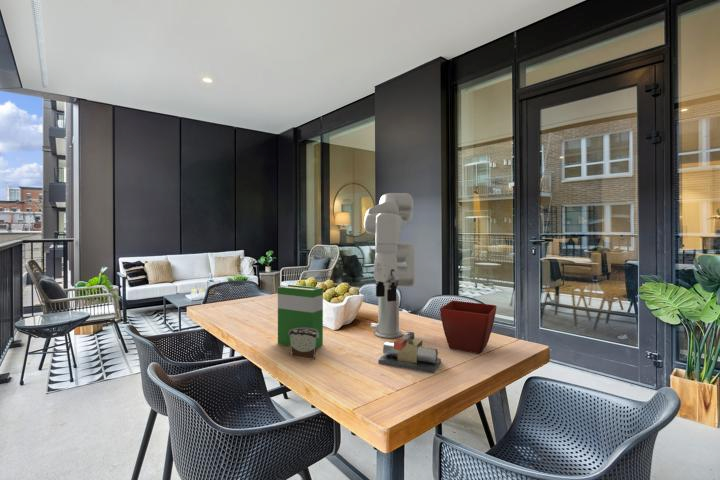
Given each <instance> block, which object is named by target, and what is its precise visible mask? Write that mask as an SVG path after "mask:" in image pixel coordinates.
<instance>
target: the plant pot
mask: <svg viewBox="0 0 720 480" xmlns="http://www.w3.org/2000/svg"><path fill="white" fill-rule="evenodd" d="M439 312H440V318H441V319H440V320H441V325H442V329H443V332H444V337H445V340H446V342H447V345H448V348H449V350H457V351H462V352H469V353H474V354H482V353H483V352H484V350H485V349H486V346H488V343H489V341H490V337H491V334H492V331H493V328H494V323H495V319H496V314H497V313H496V312H497V305H495V304H488V303H487V304H486V303H479V302H471V301H470V302H468V301H461V300H450V301H449V302H447V304H445V305H443V306H441V307H440V308H439Z"/></svg>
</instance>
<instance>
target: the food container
mask: <svg viewBox="0 0 720 480" xmlns="http://www.w3.org/2000/svg"><path fill="white" fill-rule="evenodd" d="M288 335H290V344H291V346H290V352H291V354H290V355H291V357H293V358H299V357H300V358H302V359H308V360H315V359H316V356H317V355H316V354H317V348H316V346H317V339H318V338H319V333H318V330H316V329H314V328H307V327H302V328H294V329H291V330H289V333H288Z"/></svg>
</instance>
